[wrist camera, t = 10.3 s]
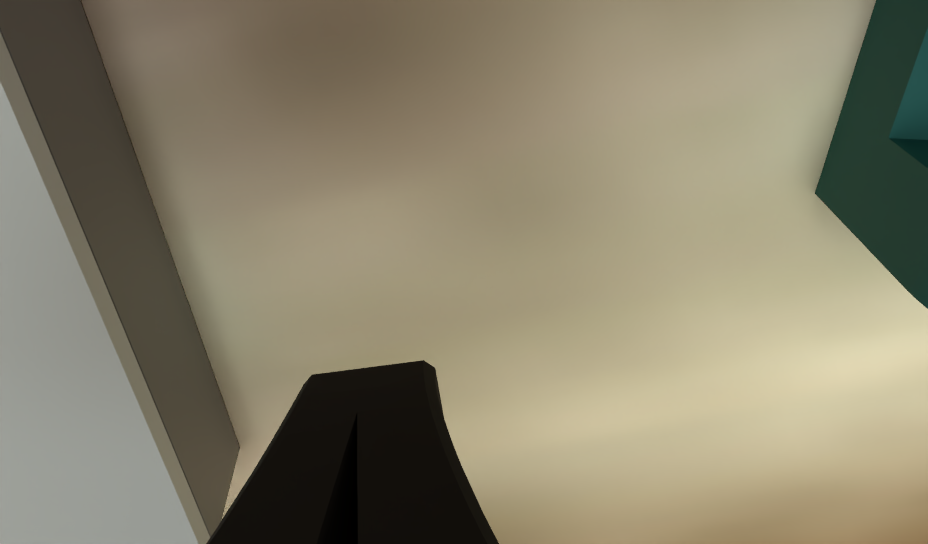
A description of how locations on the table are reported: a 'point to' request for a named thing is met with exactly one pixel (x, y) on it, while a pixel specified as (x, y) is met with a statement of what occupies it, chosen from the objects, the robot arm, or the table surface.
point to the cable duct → (123, 235)
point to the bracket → (886, 145)
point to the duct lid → (70, 373)
